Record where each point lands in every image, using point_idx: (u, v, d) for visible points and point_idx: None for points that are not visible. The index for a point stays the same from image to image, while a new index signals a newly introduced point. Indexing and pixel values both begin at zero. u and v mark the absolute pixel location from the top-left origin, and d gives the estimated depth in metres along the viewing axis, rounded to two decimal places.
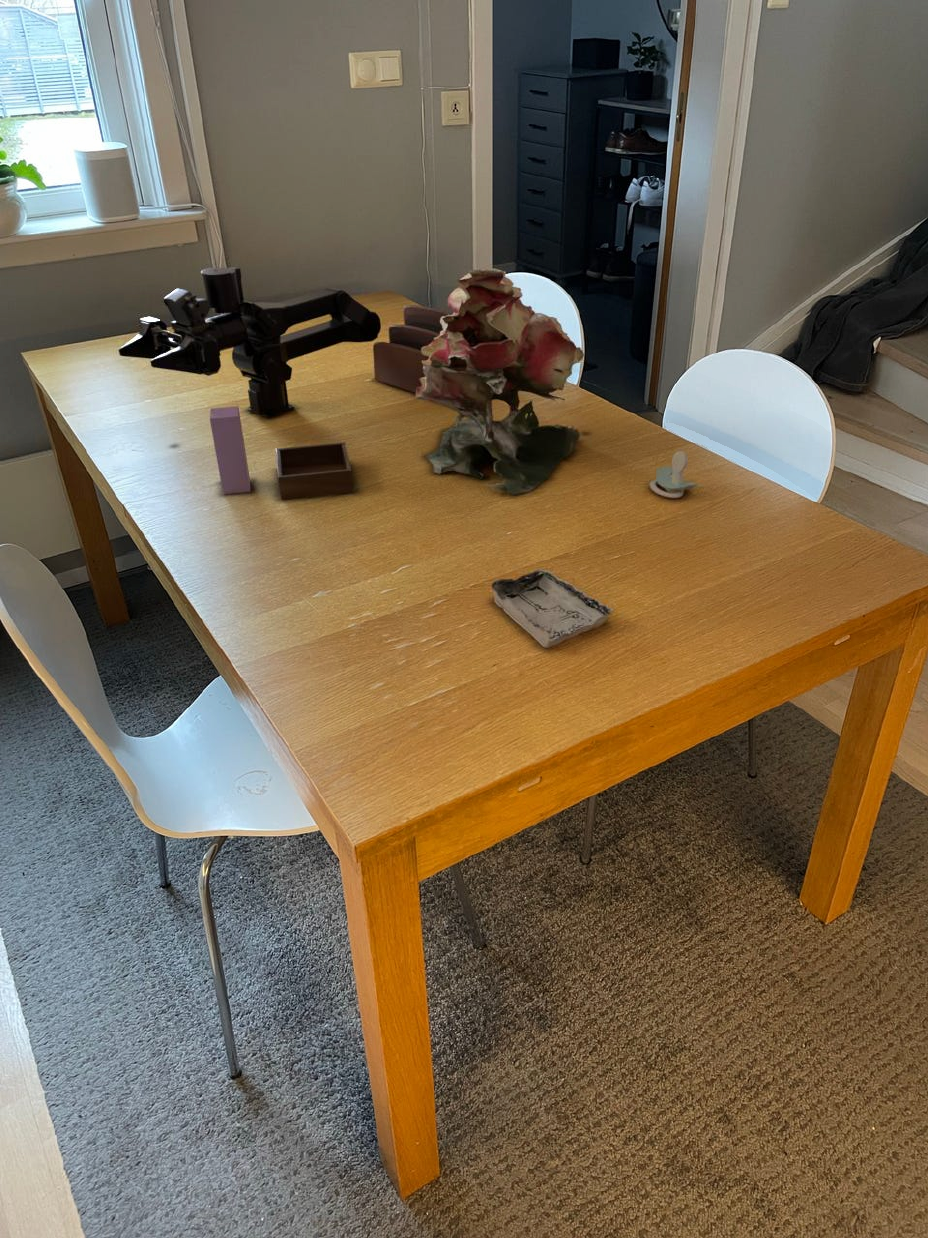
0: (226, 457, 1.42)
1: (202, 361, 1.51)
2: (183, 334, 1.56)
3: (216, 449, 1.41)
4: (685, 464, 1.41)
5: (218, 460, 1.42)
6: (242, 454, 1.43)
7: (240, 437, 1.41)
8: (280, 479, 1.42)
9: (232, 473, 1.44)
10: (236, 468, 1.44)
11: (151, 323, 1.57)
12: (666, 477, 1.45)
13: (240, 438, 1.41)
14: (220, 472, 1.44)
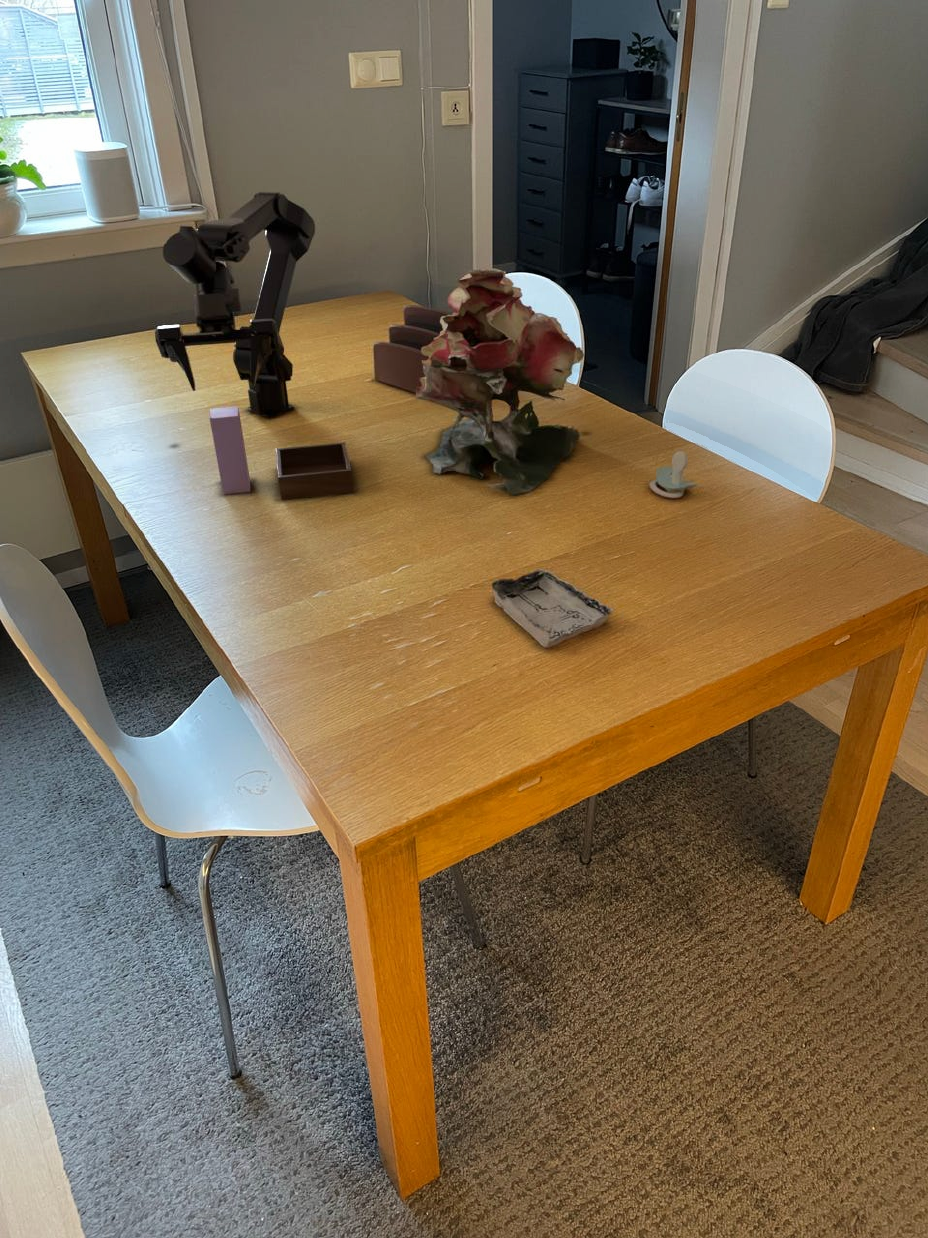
0: (226, 457, 1.42)
1: None
2: (213, 326, 1.47)
3: (216, 449, 1.41)
4: (685, 464, 1.41)
5: (218, 460, 1.42)
6: (242, 454, 1.43)
7: (240, 437, 1.41)
8: (280, 479, 1.42)
9: (232, 473, 1.44)
10: (236, 468, 1.44)
11: (177, 337, 1.44)
12: (666, 477, 1.45)
13: (240, 438, 1.41)
14: (220, 472, 1.44)
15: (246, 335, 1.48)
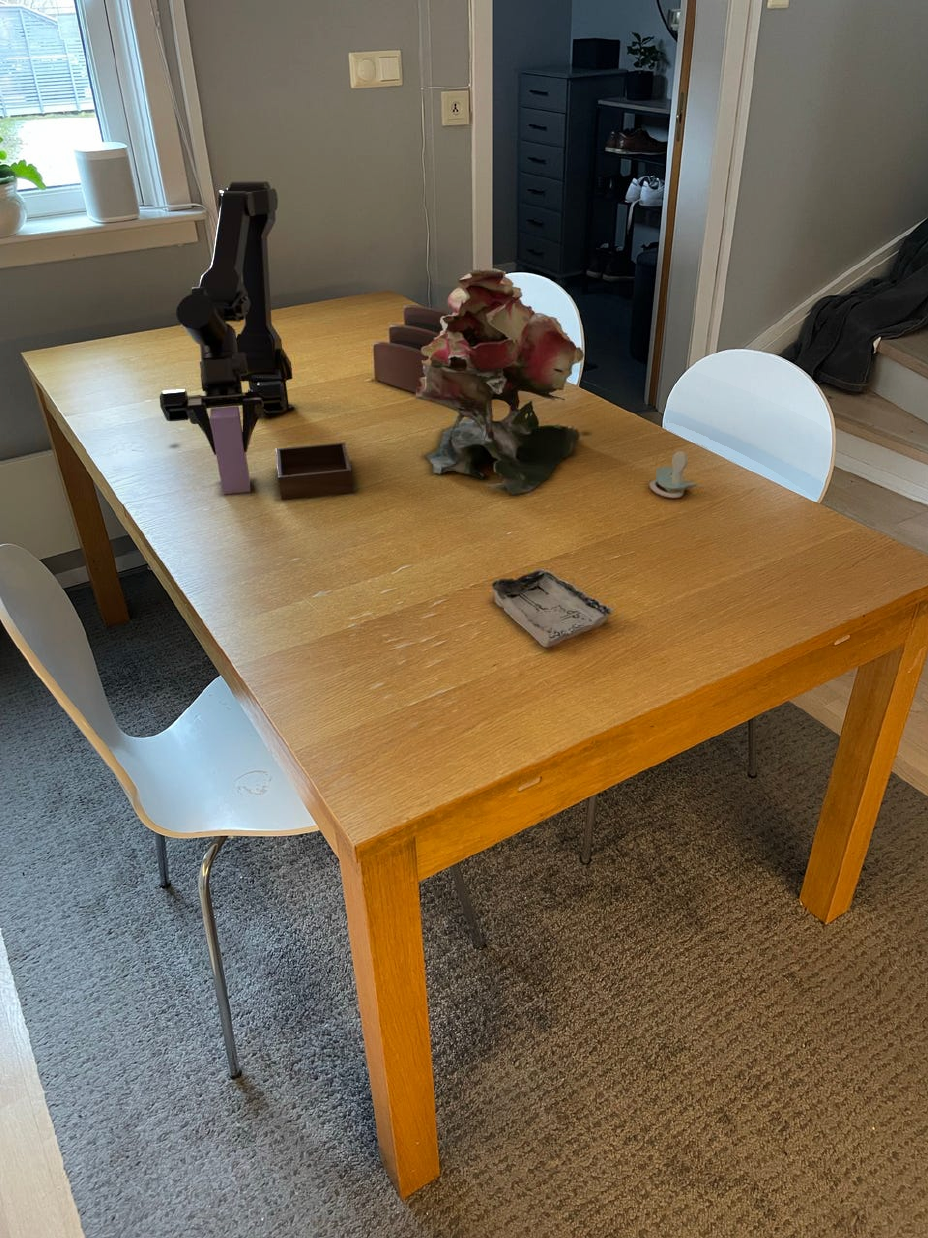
0: (226, 457, 1.42)
1: None
2: None
3: (216, 449, 1.41)
4: (685, 464, 1.41)
5: (218, 460, 1.42)
6: (242, 454, 1.43)
7: (240, 437, 1.41)
8: (280, 479, 1.42)
9: (232, 473, 1.44)
10: (236, 468, 1.44)
11: (183, 402, 1.41)
12: (666, 477, 1.45)
13: (240, 438, 1.41)
14: (220, 472, 1.44)
15: None
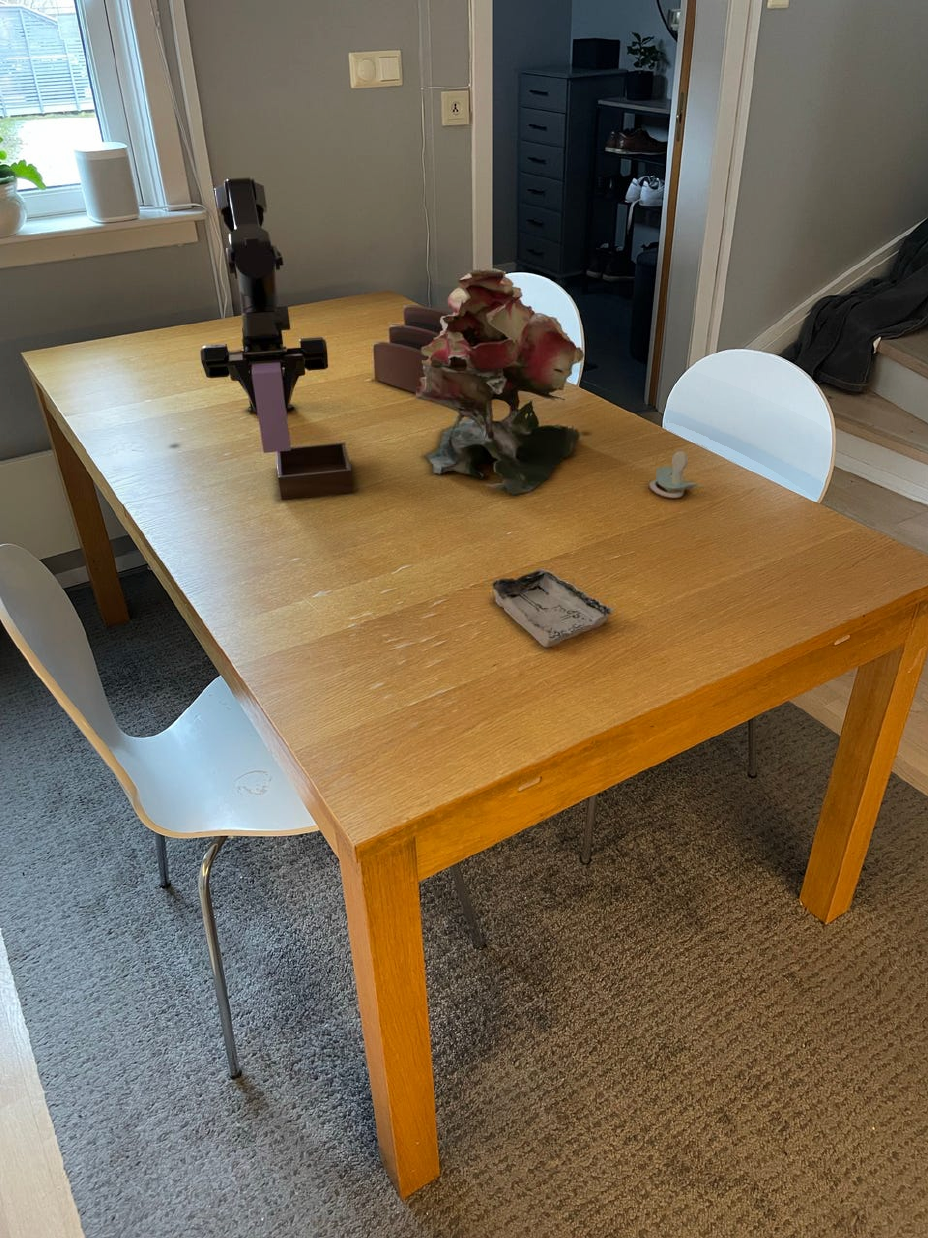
0: (267, 414, 1.40)
1: None
2: (261, 345, 1.41)
3: (257, 405, 1.39)
4: (685, 464, 1.41)
5: (259, 417, 1.40)
6: (284, 411, 1.40)
7: (282, 393, 1.38)
8: (280, 479, 1.42)
9: (273, 430, 1.41)
10: (277, 426, 1.41)
11: (224, 357, 1.38)
12: (666, 477, 1.45)
13: (282, 394, 1.38)
14: (261, 429, 1.41)
15: None
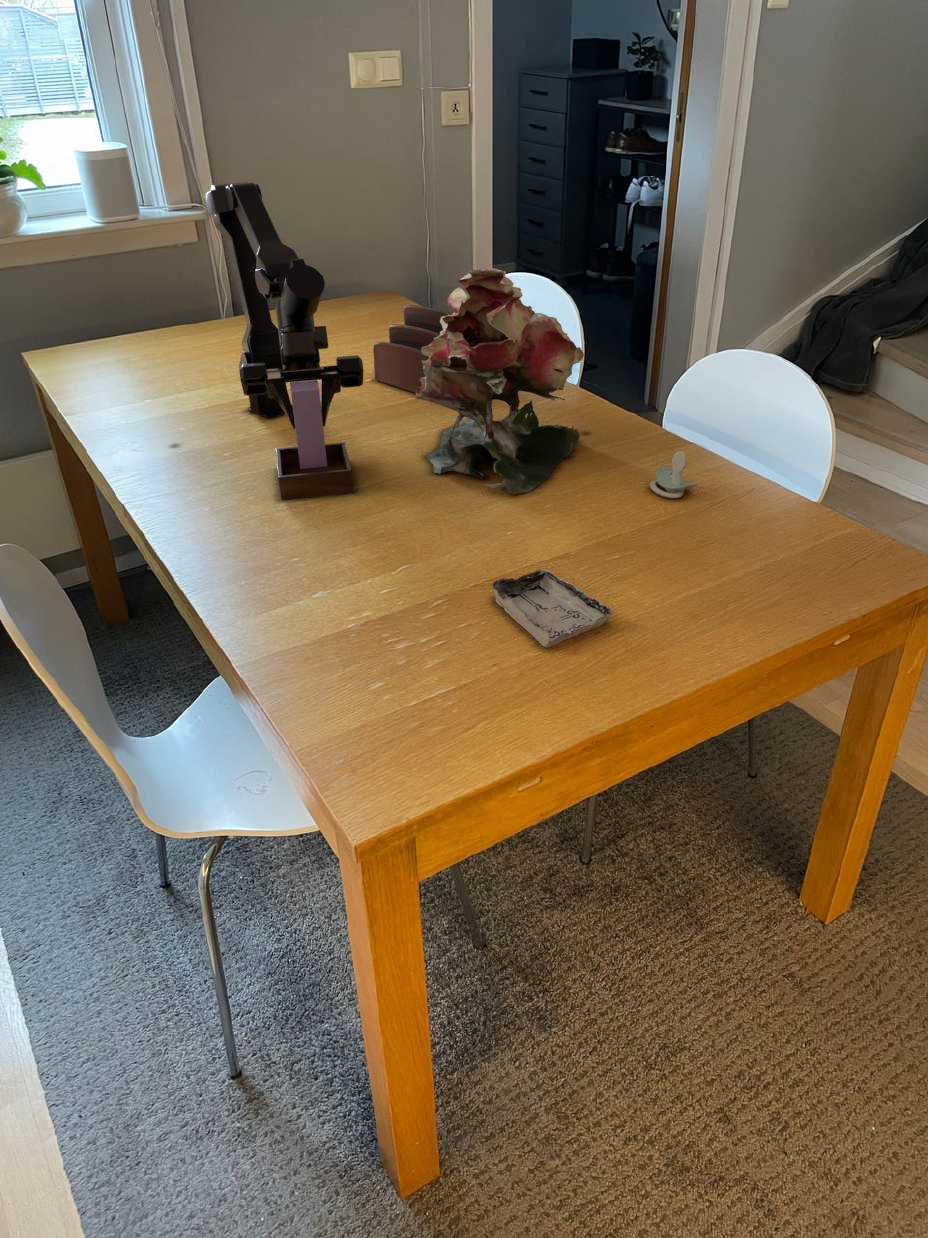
0: (305, 431, 1.42)
1: None
2: (298, 363, 1.43)
3: (296, 423, 1.41)
4: (685, 464, 1.41)
5: (297, 434, 1.42)
6: (321, 428, 1.42)
7: (320, 411, 1.41)
8: (280, 479, 1.42)
9: (310, 447, 1.44)
10: (314, 442, 1.43)
11: (263, 375, 1.40)
12: (666, 477, 1.45)
13: (320, 412, 1.41)
14: (298, 446, 1.43)
15: None
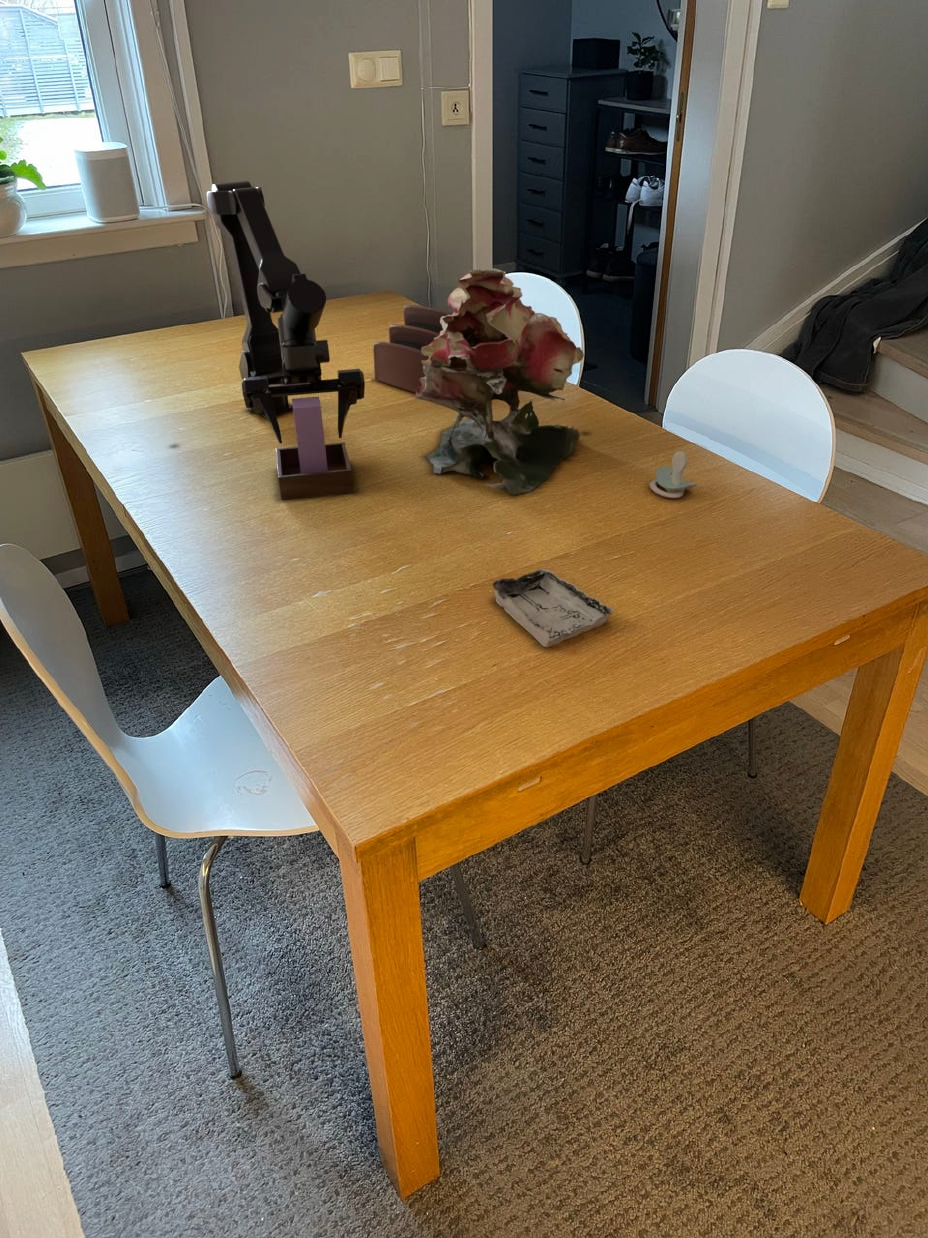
0: (307, 447, 1.44)
1: None
2: (300, 376, 1.44)
3: (298, 439, 1.43)
4: (685, 464, 1.41)
5: (299, 450, 1.44)
6: (323, 444, 1.44)
7: (322, 427, 1.42)
8: (280, 479, 1.42)
9: (312, 462, 1.45)
10: (316, 458, 1.45)
11: (265, 389, 1.42)
12: (666, 477, 1.45)
13: (322, 428, 1.42)
14: (300, 462, 1.45)
15: (332, 385, 1.45)
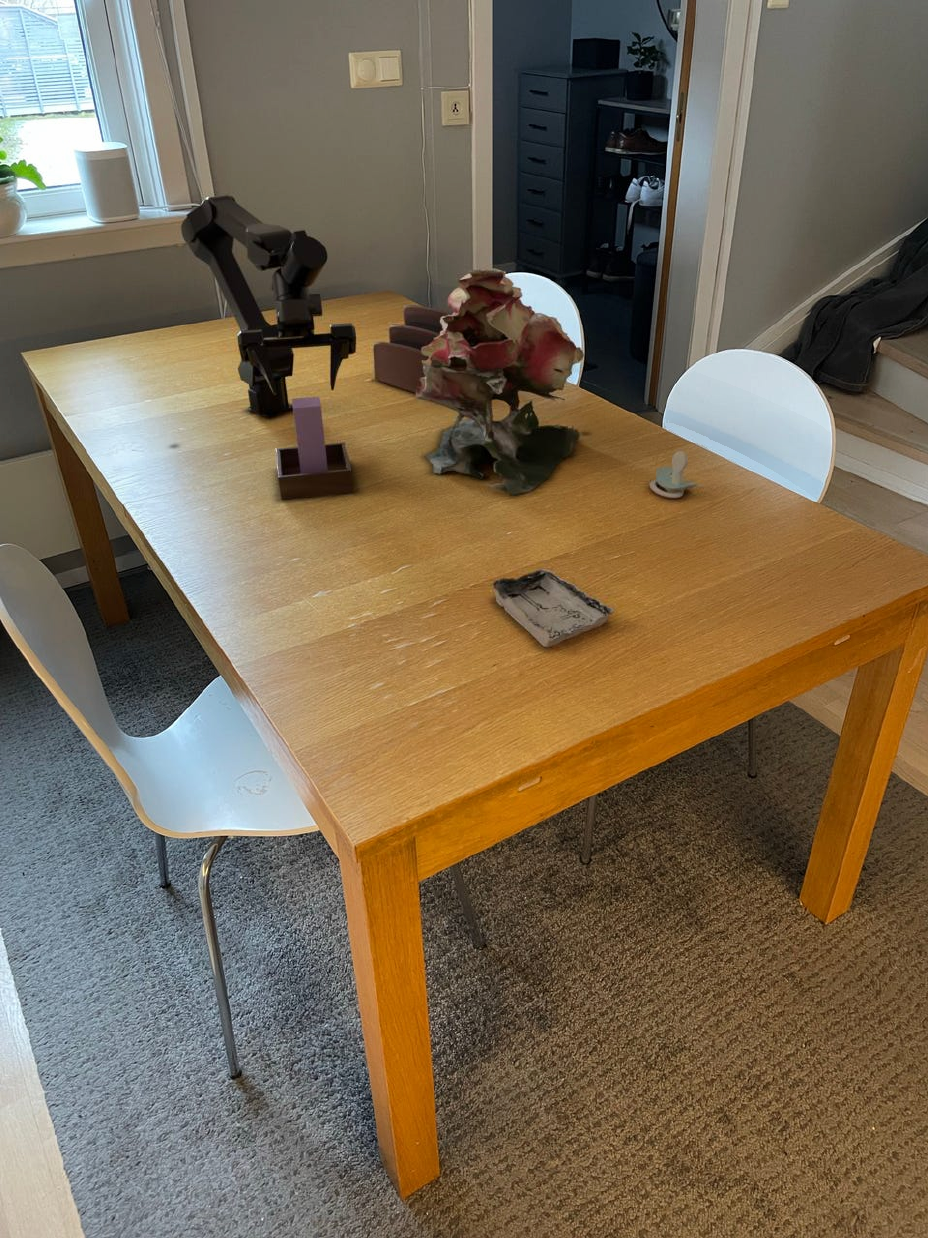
0: (307, 447, 1.44)
1: None
2: (294, 330, 1.49)
3: (298, 439, 1.43)
4: (685, 464, 1.41)
5: (299, 450, 1.44)
6: (323, 444, 1.44)
7: (322, 427, 1.42)
8: (280, 479, 1.42)
9: (312, 462, 1.45)
10: (316, 458, 1.45)
11: (260, 341, 1.47)
12: (666, 477, 1.45)
13: (322, 428, 1.42)
14: (300, 462, 1.45)
15: (325, 339, 1.51)
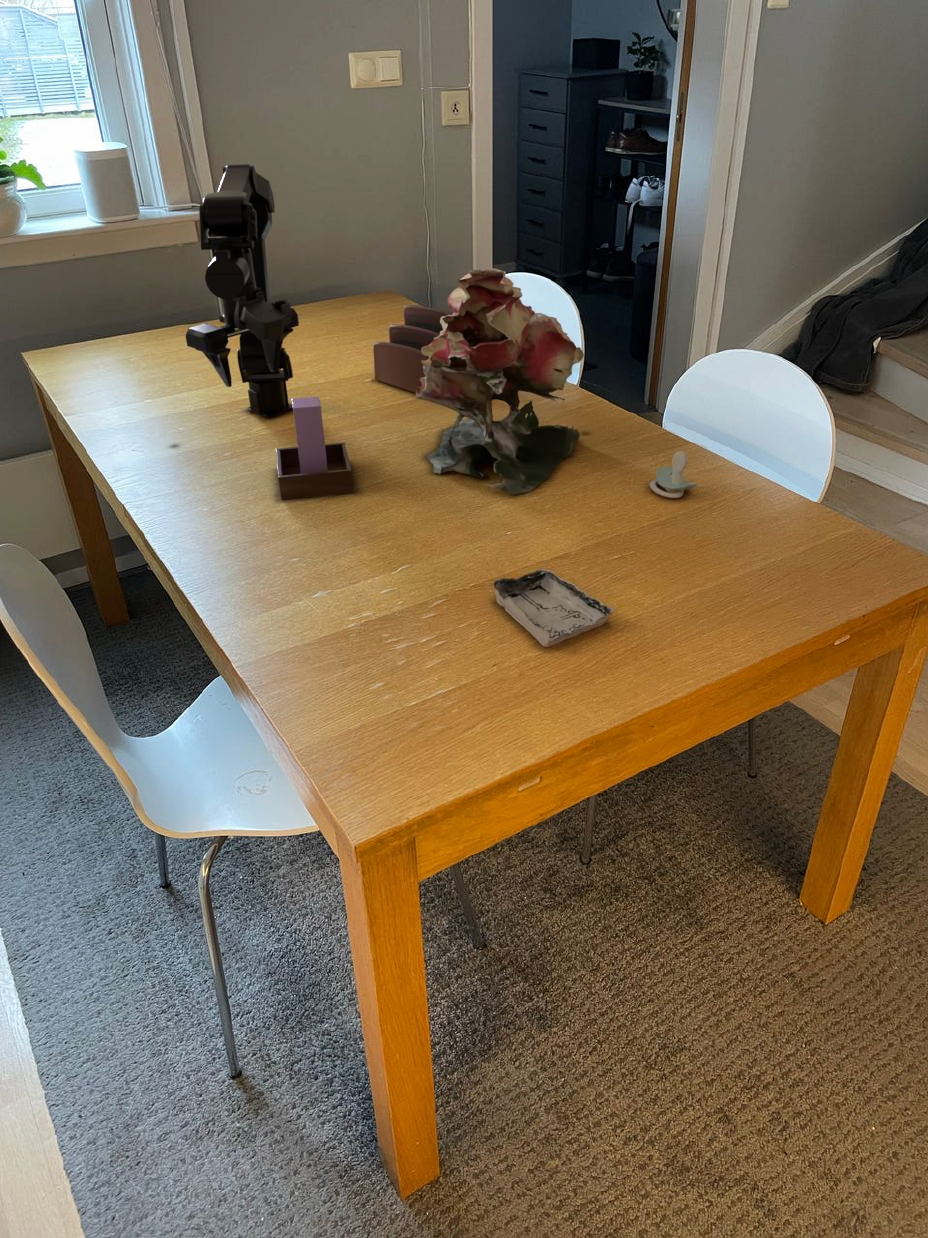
0: (307, 447, 1.44)
1: None
2: None
3: (298, 439, 1.43)
4: (685, 464, 1.41)
5: (299, 450, 1.44)
6: (323, 444, 1.44)
7: (322, 427, 1.42)
8: (280, 479, 1.42)
9: (312, 462, 1.45)
10: (316, 458, 1.45)
11: None
12: (666, 477, 1.45)
13: (322, 428, 1.42)
14: (300, 462, 1.45)
15: None
